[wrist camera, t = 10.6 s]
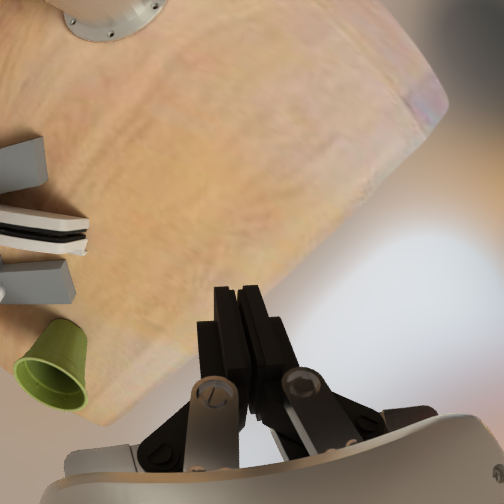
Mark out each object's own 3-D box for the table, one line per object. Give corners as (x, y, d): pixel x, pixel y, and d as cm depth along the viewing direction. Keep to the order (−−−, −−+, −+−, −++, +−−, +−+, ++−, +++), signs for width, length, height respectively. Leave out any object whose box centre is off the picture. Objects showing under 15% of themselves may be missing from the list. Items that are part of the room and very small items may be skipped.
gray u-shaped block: (-35, 160, 25) (-53, 168, 21) (42, 136, 27) (25, 142, 23) (2, 295, 35) (-9, 311, 31) (76, 293, 37) (67, 311, 34)
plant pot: (115, 349, 43) (104, 405, 33) (67, 365, 43) (52, 415, 34) (70, 295, 37) (45, 350, 28) (24, 318, 38) (-1, 367, 28)
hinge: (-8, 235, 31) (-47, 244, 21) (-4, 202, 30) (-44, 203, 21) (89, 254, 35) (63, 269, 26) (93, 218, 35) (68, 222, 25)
